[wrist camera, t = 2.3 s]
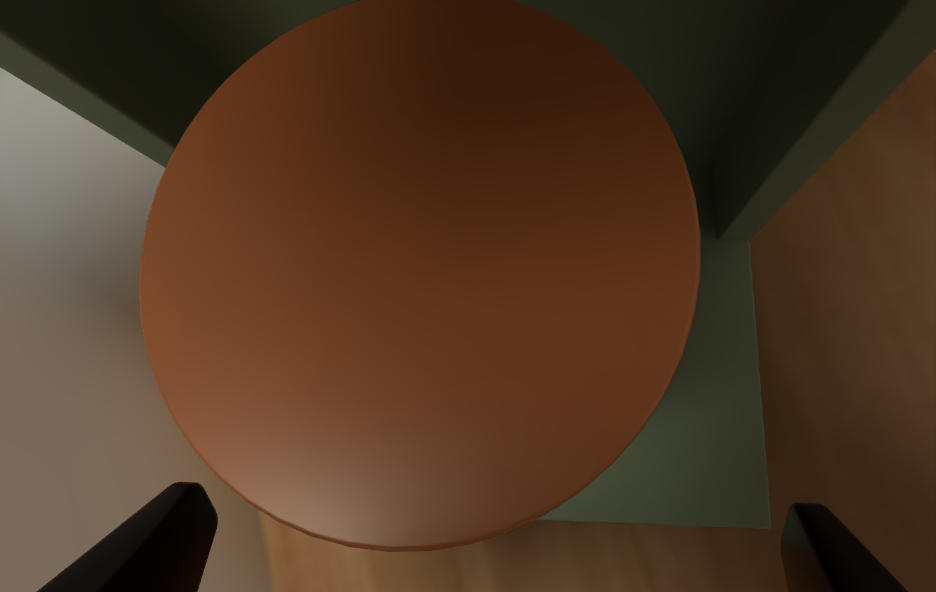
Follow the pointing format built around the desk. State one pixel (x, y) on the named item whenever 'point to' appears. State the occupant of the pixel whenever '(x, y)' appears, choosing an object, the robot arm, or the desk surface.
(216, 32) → the green c-shaped stand
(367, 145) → the tea tin
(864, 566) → the robot arm
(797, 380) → the desk surface
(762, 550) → the desk surface
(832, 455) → the desk surface
